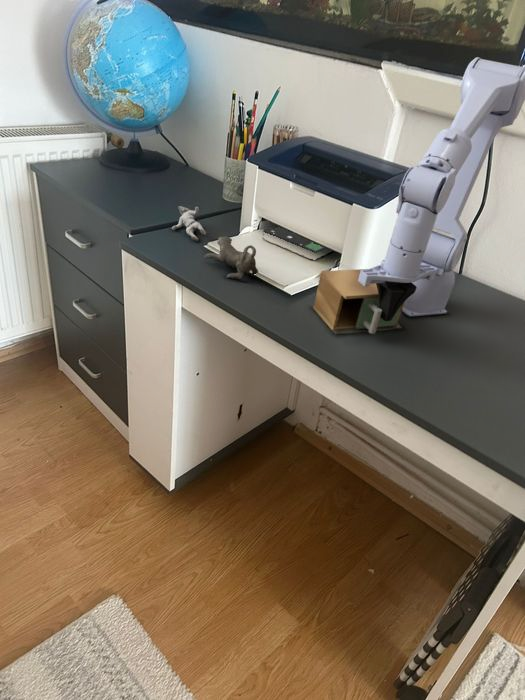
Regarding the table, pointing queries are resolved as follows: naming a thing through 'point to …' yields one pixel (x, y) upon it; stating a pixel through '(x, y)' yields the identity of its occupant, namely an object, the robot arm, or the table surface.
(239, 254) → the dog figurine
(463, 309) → the table surface
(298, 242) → the disk drive
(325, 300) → the closet
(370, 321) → the closet door
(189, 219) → the soldier figure
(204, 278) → the table surface
